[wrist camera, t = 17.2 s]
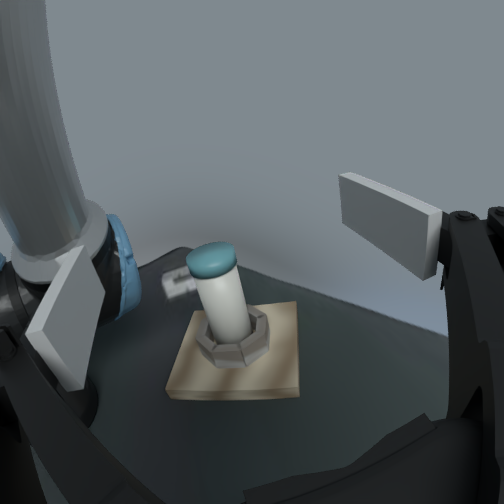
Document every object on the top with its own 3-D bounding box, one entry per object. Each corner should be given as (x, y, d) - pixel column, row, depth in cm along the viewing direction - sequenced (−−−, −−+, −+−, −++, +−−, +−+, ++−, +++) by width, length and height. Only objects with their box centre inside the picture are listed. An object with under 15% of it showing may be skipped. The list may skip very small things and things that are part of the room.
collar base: (170, 398, 35) (155, 374, 33) (198, 320, 49) (188, 295, 47) (299, 396, 32) (295, 369, 30) (297, 311, 47) (293, 284, 44)
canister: (213, 358, 38) (179, 268, 32) (220, 331, 43) (193, 245, 37) (254, 357, 37) (229, 262, 31) (258, 328, 42) (237, 239, 36)
